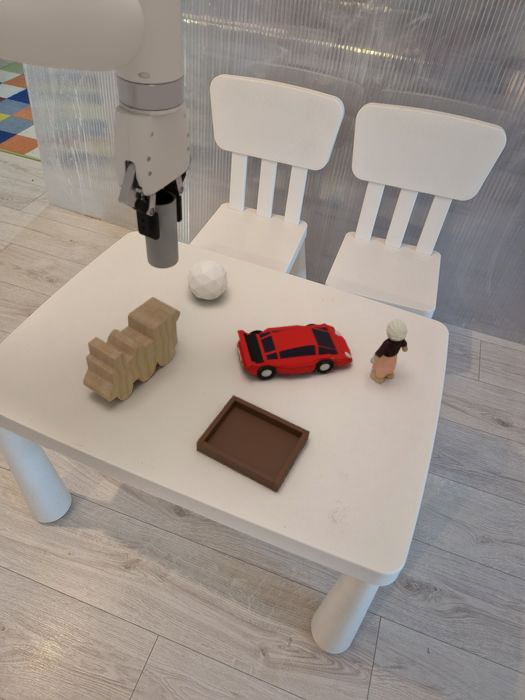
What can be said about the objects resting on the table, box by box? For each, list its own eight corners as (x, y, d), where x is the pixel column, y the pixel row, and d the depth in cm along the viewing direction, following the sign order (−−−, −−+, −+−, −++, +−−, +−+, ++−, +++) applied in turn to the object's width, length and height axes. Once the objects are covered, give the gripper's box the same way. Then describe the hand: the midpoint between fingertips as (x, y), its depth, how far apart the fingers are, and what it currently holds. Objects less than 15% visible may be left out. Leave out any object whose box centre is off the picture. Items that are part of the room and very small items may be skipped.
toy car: (356, 369, 93) (362, 349, 89) (246, 388, 88) (248, 368, 84) (334, 328, 99) (339, 309, 96) (231, 344, 95) (232, 324, 91)
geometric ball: (197, 302, 106) (180, 266, 104) (233, 286, 106) (217, 250, 103) (197, 310, 99) (178, 271, 96) (236, 293, 99) (218, 254, 96)
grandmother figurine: (385, 359, 95) (403, 306, 86) (402, 372, 93) (423, 319, 84) (357, 379, 91) (373, 326, 82) (374, 393, 89) (393, 340, 80)
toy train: (86, 395, 84) (74, 352, 77) (158, 337, 95) (154, 294, 87) (111, 412, 82) (101, 369, 75) (182, 351, 93) (179, 308, 85)
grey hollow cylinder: (176, 270, 76) (173, 206, 68) (145, 268, 76) (138, 203, 68) (180, 251, 79) (177, 189, 72) (150, 249, 79) (144, 186, 71)
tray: (196, 450, 79) (196, 442, 77) (232, 402, 85) (233, 394, 84) (276, 492, 75) (277, 485, 73) (308, 439, 81) (309, 431, 80)
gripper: (166, 63, 67) (173, 194, 80) (74, 104, 56) (99, 247, 69) (217, 77, 65) (215, 209, 78) (131, 122, 54) (146, 266, 67)
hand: (160, 226), depth 73 cm, fingers closed on grey hollow cylinder, 4 cm apart
